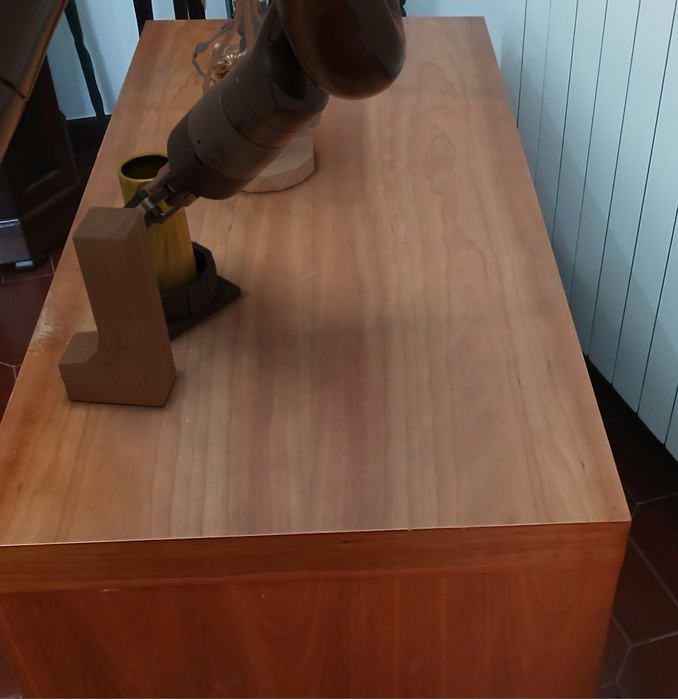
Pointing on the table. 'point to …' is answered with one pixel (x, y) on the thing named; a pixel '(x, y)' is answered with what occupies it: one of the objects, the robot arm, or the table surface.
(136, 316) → the wooden block
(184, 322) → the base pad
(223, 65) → the ornament
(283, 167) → the table lamp
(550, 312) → the table surface
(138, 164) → the vase
